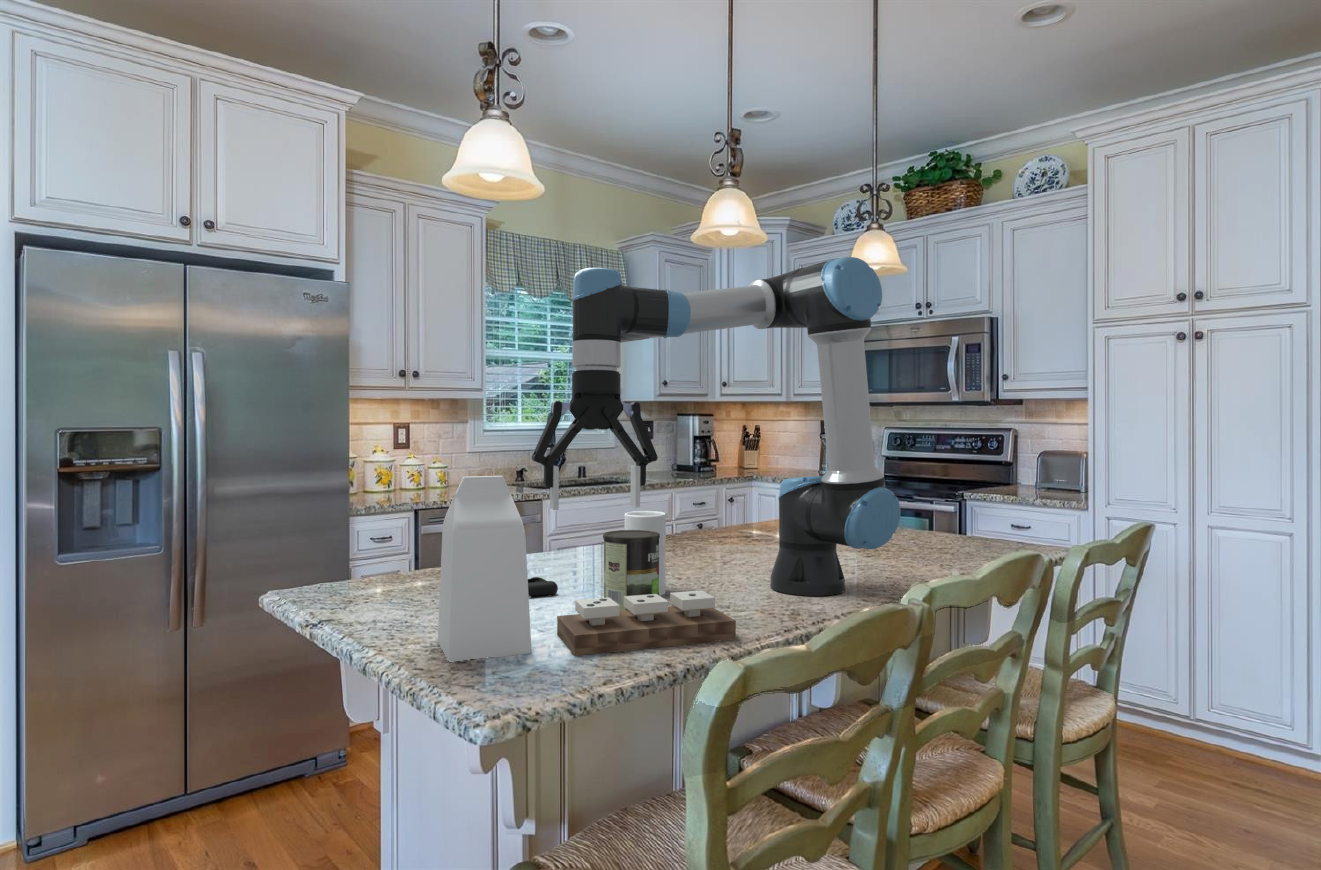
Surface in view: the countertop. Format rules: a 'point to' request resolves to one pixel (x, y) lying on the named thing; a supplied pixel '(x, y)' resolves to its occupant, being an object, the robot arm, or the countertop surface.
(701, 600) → the button
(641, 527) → the cup
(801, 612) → the countertop surface
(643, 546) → the coffee can
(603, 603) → the button
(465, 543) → the milk
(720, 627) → the button panel
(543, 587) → the door handle
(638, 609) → the button
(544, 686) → the countertop surface
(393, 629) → the countertop surface
